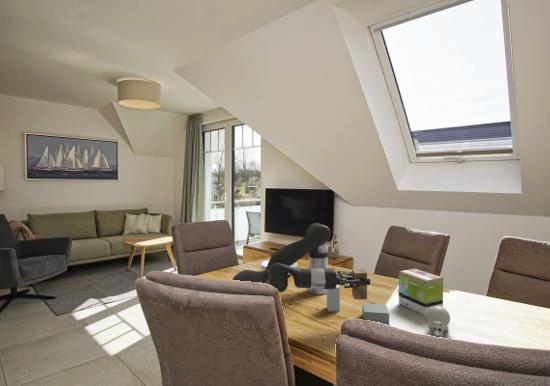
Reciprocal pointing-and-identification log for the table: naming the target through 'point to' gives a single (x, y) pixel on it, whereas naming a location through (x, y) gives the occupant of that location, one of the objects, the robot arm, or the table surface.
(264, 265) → the serving bowl
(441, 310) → the round bodied animal figurine
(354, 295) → the walnut block
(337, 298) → the bluegrey block
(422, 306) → the tea box
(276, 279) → the robot arm
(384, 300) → the table surface
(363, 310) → the grey block
